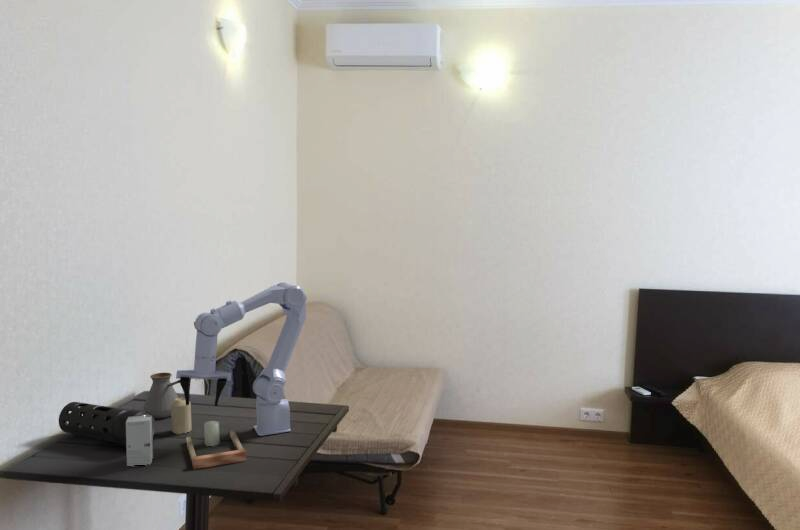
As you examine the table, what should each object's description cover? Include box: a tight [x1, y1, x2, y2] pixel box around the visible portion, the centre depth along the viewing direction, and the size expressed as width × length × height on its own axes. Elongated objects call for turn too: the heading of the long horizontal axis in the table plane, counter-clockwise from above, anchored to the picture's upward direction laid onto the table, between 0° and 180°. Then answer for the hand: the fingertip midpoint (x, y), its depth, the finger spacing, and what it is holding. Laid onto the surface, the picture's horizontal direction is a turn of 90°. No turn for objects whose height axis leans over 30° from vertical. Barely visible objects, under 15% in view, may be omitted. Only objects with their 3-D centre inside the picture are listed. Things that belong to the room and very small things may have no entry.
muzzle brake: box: [58, 401, 157, 447], centre depth 188 cm, size 10×28×10 cm, turn 67°
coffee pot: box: [143, 372, 198, 419], centre depth 209 cm, size 21×12×15 cm, turn 64°
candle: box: [170, 396, 193, 435], centre depth 195 cm, size 6×6×10 cm
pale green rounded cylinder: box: [203, 420, 221, 447], centre depth 186 cm, size 4×4×6 cm
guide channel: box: [185, 430, 248, 470], centre depth 180 cm, size 13×20×2 cm
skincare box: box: [125, 416, 154, 467], centre depth 172 cm, size 6×4×12 cm
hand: (201, 404), depth 184 cm, fingers open, 7 cm apart
